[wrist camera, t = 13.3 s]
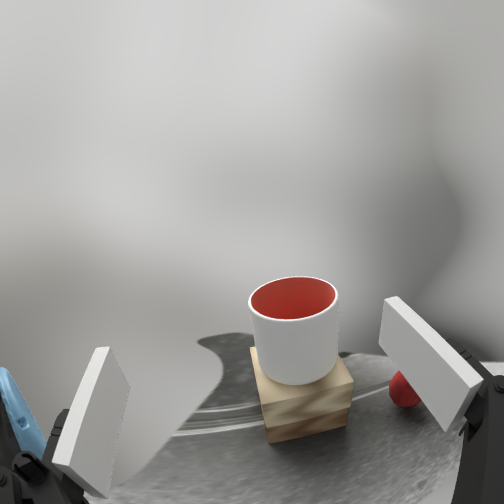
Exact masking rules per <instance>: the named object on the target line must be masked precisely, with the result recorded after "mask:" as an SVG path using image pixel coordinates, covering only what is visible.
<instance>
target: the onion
mask: <svg viewBox="0 0 504 504" xmlns="http://www.w3.org/2000/svg"><path fill="white" fill-rule="evenodd" d="M389 395H390V397H391V399H392V400H393V402H394V403H395V404H397V405H398V406H401V407H411V406H414V405H416V404H418V403H419V402H420V401H421V398H420V397H419V396H418V394H417V393H416V392H415V390H414V389H413V388H412V386H411V385H410V384H409V382H408V381H407V380H406V378H405V377H404V376H403V374H402V373H401V372H400V370H399V371H398V372H397V373H396V374H395V375H394V376H393V378H392V380H391V382H390V385H389Z"/></svg>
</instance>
